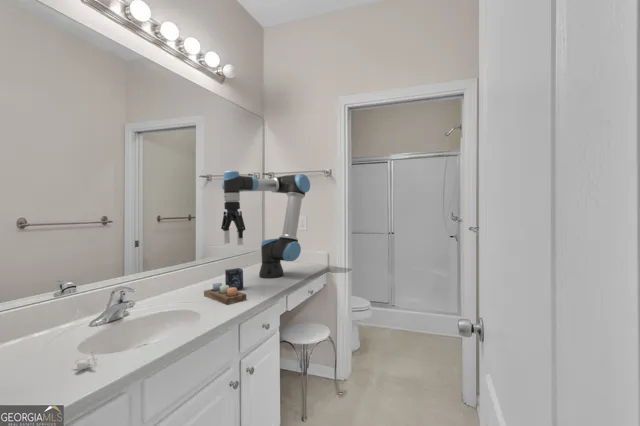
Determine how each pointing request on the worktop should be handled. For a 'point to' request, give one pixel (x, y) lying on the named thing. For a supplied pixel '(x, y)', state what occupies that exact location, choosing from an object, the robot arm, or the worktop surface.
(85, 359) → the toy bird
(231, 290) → the plunger terracotta
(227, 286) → the plunger sage
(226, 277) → the box
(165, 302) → the worktop surface
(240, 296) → the wooden tray
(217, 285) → the plunger slate
